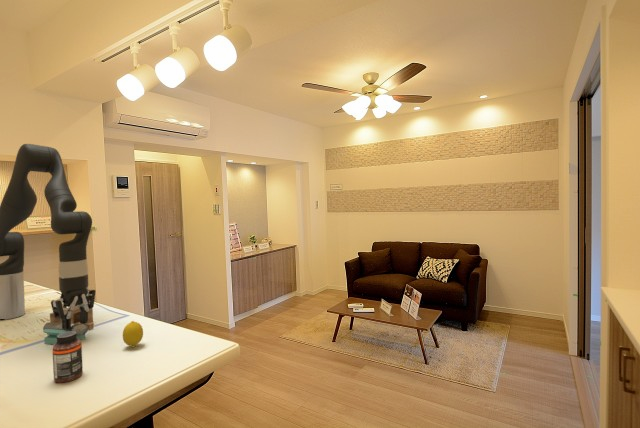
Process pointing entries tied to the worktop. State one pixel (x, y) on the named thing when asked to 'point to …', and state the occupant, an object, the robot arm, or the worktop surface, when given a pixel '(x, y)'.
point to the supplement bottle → (67, 357)
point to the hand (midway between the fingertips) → (75, 326)
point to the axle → (74, 327)
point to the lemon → (132, 333)
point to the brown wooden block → (76, 318)
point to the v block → (53, 335)
